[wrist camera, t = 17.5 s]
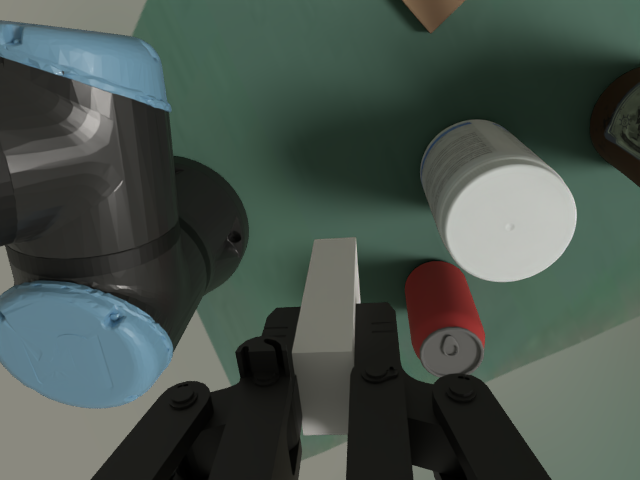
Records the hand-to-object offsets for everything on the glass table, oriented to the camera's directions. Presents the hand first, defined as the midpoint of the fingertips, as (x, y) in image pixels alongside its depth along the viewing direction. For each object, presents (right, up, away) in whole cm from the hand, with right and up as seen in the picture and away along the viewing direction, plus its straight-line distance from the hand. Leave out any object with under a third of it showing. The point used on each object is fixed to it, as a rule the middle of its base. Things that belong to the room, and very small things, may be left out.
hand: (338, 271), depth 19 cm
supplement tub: (+14, +8, +31) cm, 35 cm away
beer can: (+12, -4, +37) cm, 39 cm away
